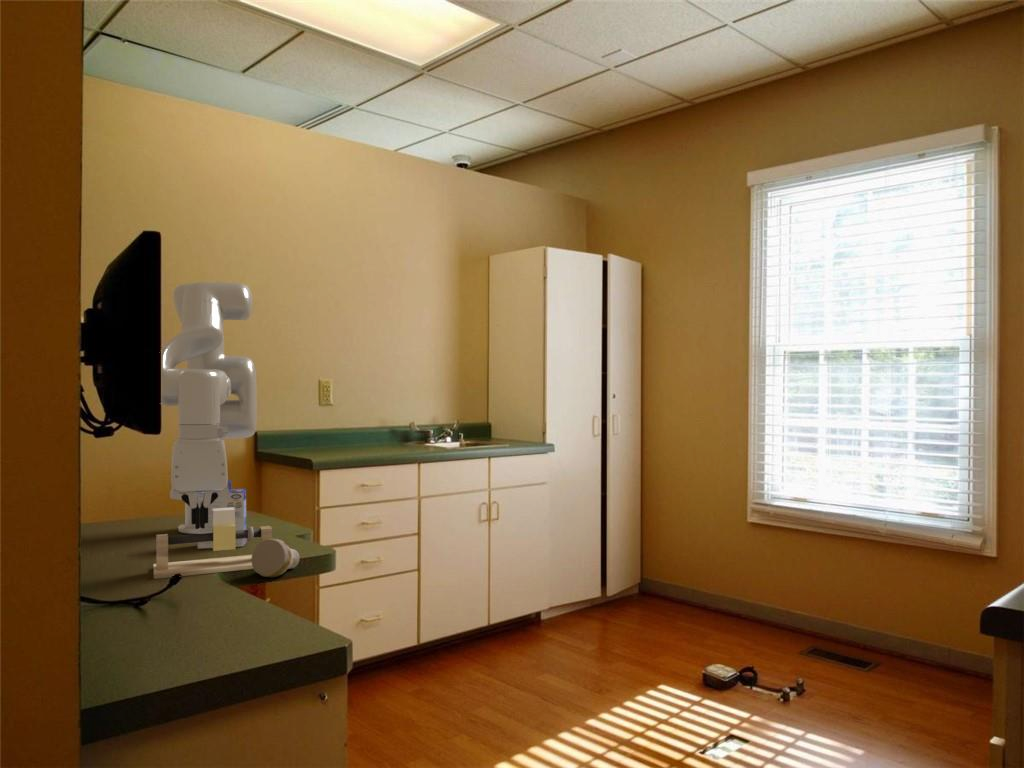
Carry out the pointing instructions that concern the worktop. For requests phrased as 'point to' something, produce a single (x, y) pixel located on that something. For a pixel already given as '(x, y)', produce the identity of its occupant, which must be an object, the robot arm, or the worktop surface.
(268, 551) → the mug
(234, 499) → the ink cartridge box
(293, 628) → the worktop surface
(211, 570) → the roller holder rack
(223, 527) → the sleeve
